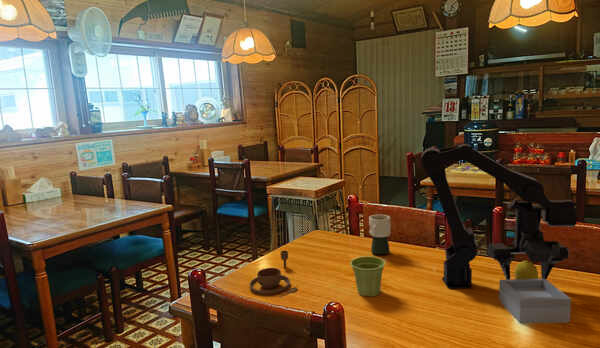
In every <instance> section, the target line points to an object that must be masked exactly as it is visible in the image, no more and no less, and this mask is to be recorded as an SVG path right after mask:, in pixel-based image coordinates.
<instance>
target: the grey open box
mask: <svg viewBox="0 0 600 348" xmlns="http://www.w3.org/2000/svg"><path fill="white" fill-rule="evenodd" d="M498 293H499V294H498V297H499V300H498V301H499V302H500V304H501V305H502V306H503V307H504V308H505V309H506V310H507V311H508V313H510V314H511V316H512V317H513V318H514V319H515V320H516V321H517V322H518V324H554V323H555V324H557V323H558V324H559V323H570V322H571V307H572V306H571V303H572V301H571V300H572V299H571V297H569V296H568V295H567V294H565V293H564V292H563V291H562V290H560V289H559V288H557V286H555V285H554V284H553V283H551V282H550V281H548V280H547V279H542V278H538V279H515V278H514V279H513V278H512V279H511V278H510V279H509V280H506V279H499V292H498Z"/></svg>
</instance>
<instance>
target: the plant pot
mask: <svg viewBox="0 0 600 348" xmlns="http://www.w3.org/2000/svg"><path fill="white" fill-rule="evenodd" d="M385 265H386V261H385V260H384V259H382V258H380V257H377V256H369V255H367V256H359V257H355V258H353V259H352V260H351V261H350V266H351V267H352V270H353V273H354V279H355V283H356V290H357V293H358V294H359V295H361V296H362V297H365V296H368V297H376V296H377V295H379V294H380V292H381V286H382V277H383V276H382V275H383V270H384V267H385Z"/></svg>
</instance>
